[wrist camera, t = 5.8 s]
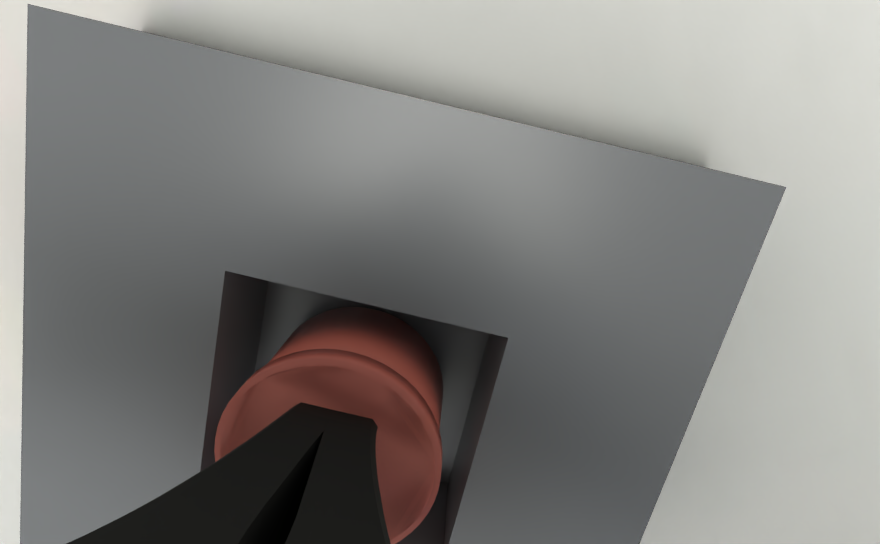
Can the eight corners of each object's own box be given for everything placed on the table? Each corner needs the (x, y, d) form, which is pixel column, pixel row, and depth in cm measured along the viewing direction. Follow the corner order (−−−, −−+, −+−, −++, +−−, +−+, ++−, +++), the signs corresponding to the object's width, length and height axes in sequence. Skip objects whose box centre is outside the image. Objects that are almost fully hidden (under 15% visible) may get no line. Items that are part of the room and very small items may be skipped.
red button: (467, 326, 11) (465, 390, 9) (426, 480, 12) (414, 579, 10) (284, 283, 11) (228, 334, 9) (259, 441, 12) (203, 530, 10)
